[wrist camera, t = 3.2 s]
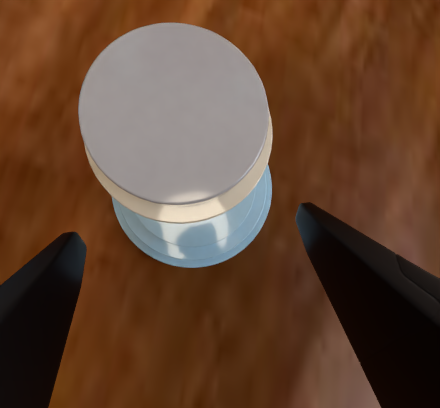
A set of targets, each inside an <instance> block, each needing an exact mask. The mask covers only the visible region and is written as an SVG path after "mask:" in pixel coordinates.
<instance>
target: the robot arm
mask: <svg viewBox="0 0 440 408" xmlns="http://www.w3.org/2000/svg"><path fill="white" fill-rule="evenodd" d="M296 223H297V226H298V229H299V232H300V235H301V238H302V240H303V243H304V246H305V249H306V252H307V254H308V256H309V258H310V260H311V263H312V265H313V267H314V269H315V271H316V273H317V275H318V277H319V279H320V281H321V283H322V285H323V287H324V289H325V292H326V294H327V296H328V298H329V300H330V302H331V304H332V306H333V308H334V310H335V312H336V314H337V316H338V318H339V321H340V323H341V325H342V327H343V329H344V331H345V333H346V335H347V337H348V339H349V341H350V343H351V345H352V347H353V350H354V352H355V354H356V356H357V358H358V360H359V362H360V364H361V366H362V369H363V371H364V373H365V375H366V377H367V379H368V381H369V383H370V385H371V387H372V389H373V391H374V393H375V395H376V398H377V400H378V402H379V404H380V406H381V408H440V278H438V277H436V276H434V275H432V274H430V273H429V272H427V271H425V270H423V269H421V268H420V267H418V266H416V265H415V264H413V263H411V262H409V261H408V260H406V259H404V258H403V257H401V256H399V255H398V254H395V253H394V252H392V251H391V250H389V249H387V248H386V247H384V246H382V245H381V244H379V243H377V242H376V241H374V240H372V239H371V238H369V237H367V236H366V235H364V234H362V233H361V232H359V231H357V230H356V229H354V228H352V227H351V226H349V225H347V224H346V223H344V222H342V221H341V220H339V219H337V218H336V217H334V216H332V215H331V214H329V213H327V212H326V211H324V210H322V209H321V208H319V207H317V206H316V205H314V204H312V203H310V202H307V203H301V204H300V205H299V208H298V211H297V215H296ZM85 257H86V245H85V243H84V242H83V240H82V239H81V237H80V236H79V235H78V233H76V232H66V233H63V234H61V235H60V236H59V237H58V238H56V239H55V240H54V241H53V242H52V243H51V244H49V245H48V246H47V247H46V248H45V249H43V250H42V251H41V252H40V253H39V254H37V255H36V256H35V257H34V258H33V259H31V260H30V261H29V262H28V263H27V264H25V265H24V266H23V267H22V268H21V269H19V270H18V271H17V272H16V273H15V274H13V275H12V276H11V277H10V278H9V279H7V280H6V281H5V282H4V283H3V284H1V285H0V408H48V406H49V403H50V399H51V395H52V392H53V388H54V384H55V381H56V377H57V373H58V370H59V366H60V362H61V359H62V355H63V351H64V348H65V344H66V340H67V337H68V333H69V329H70V325H71V322H72V318H73V314H74V311H75V307H76V303H77V300H78V296H79V292H80V288H81V283H82V277H83V271H84V264H85Z"/></svg>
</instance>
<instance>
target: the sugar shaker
mask: <svg viewBox="0 0 440 408" xmlns="http://www.w3.org/2000/svg"><path fill="white" fill-rule="evenodd" d="M78 113H79V124H80V129H81V134H82V137H83V140H84V145H85V150H86V154H87V157H88V160H89V163H90V166H91V168H92V170H93V172H94V174H95V175H96V177H97V179H98V180H99V182H100V183H101V184H102V186H103V187H104V188H105V189H106V191H107V192H108V193H109V194H110V195H111V196H112V197H113V198H114V199H116V200H117V201H118V202H119V203H120V204H122V205H123V206H125V207H126V208H128V209H129V210H131V211H133V212H134V213H137V214H139V215H141V216H143V217H146V218H149V219H152V220H156V221H160V222H166V223H178V224H185V223H195V222H200V221H204V220H208V219H211V218H214V217H216V216H219V215H221V214H223V213H225V212H227V211H229V210H230V209H232V208H233V207H235V206H236V205H237V204H239V203H240V202H241V201H242V200H243V199H244V198H246V197H247V196H248V195H249V194H250V192H251V191H252V190H253V189H254V188H255V186H256V185H257V183H258V182H259V180H260V179H261V177H262V175H263V173H264V171H265V169H266V166H267V164H268V160H269V157H270V153H271V147H272V123H271V117H270V113H269V108H268V102H267V97H266V93H265V89H264V87H263V84H262V82H261V79H260V77H259V75H258V73H257V72H256V70H255V68H254V67H253V65H252V64H251V62H250V61H249V60H248V58H247V57H246V56H245V55H244V54H243V53H242V52H241V51H240V50H239V49H238V48H237V47H236V46H234V45H233V44H232V43H231V42H229V41H228V40H226V39H225V38H223V37H222V36H220V35H218V34H216V33H214V32H212V31H210V30H207V29H204V28H202V27H199V26H194V25H190V24H184V23H158V24H151V25H147V26H143V27H140V28H137V29H135V30H132V31H130V32H128V33H126V34H124V35H122V36H121V37H119V38H117V39H116V40H115V41H113V42H112V43H111V44H109V45H108V46H107V47H106V48H105V49H104V50H103V51H102V52H101V53H100V54H99V55H98V57H97V58H96V59H95V61H94V62H93V63H92V65H91V67H90V69H89V70H88V72H87V74H86V77H85V79H84V82H83V84H82V88H81V92H80V96H79V107H78Z"/></svg>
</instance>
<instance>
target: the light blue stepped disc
mask: <svg viewBox="0 0 440 408" xmlns="http://www.w3.org/2000/svg"><path fill="white" fill-rule="evenodd" d="M271 196H272V183H271V175H270V171H269V167H268V164H267V166H266V169H265V171H264V173H263V175H262V177H261V179H260V180H259V182H258V183H257V185H256V186H255V188H254V189H253V190H252V191H251V192H250V194H249V195H248V196H247V197H246V198H244V199H243V200H242V201H241V202H240V203H239V204H237V205H236V206H235V207H233V208H232V209H230V210H229V211H227V212H225V213H223V214H221V215H219V216H216V217H214V218H211V219H208V220H204V221H200V222H195V223H185V224H178V223H166V222H160V221H156V220H152V219H149V218H146V217H143V216H141V215H139V214H137V213H134V212H133V211H131V210H129V209H128V208H126V207H125V206H123V205H122V204H120V203H119V202H118V201H117V200H116V199H114V198H113V197H112V201H113V206H114V210H115V213H116V216H117V219H118V221H119V223H120V225H121V227H122V229H123V230H124V232H125V233H126V234H127V236H128V237H129V239H130V240H131V241H132V242H133V243H134V244H135V245H136V246H137V247H138V248H140V249H141V250H142V251H143V252H144V253H146V254H148V255H149V256H151V257H152V258H154V259H156V260H159V261H161V262H163V263H166V264H169V265H173V266H178V267H185V268H198V267H206V266H210V265H214V264H218V263H220V262H223V261H225V260H228V259H229V258H231V257H233V256H235V255H236V254H238V253H239V252H240V251H242V250H243V249H244V248H245V247H246V246H247V245H248V244H250V243H251V242H252V240H253V239H254V238H255V237H256V235H257V234H258V233H259V231H260V229H261V228H262V226H263V224H264V222H265V219H266V217H267V215H268V211H269V208H270V203H271Z"/></svg>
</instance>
